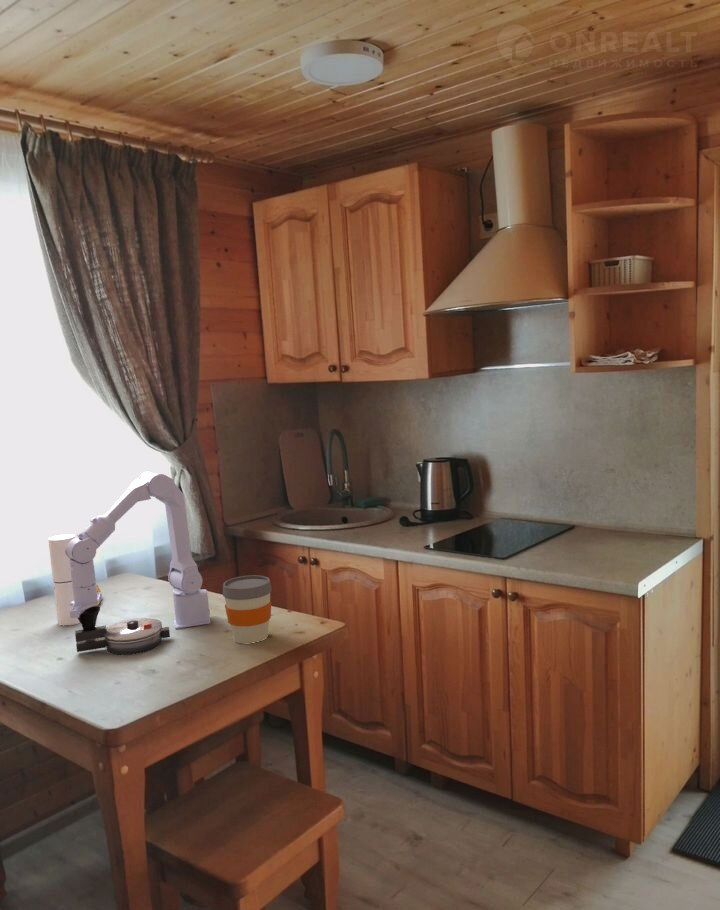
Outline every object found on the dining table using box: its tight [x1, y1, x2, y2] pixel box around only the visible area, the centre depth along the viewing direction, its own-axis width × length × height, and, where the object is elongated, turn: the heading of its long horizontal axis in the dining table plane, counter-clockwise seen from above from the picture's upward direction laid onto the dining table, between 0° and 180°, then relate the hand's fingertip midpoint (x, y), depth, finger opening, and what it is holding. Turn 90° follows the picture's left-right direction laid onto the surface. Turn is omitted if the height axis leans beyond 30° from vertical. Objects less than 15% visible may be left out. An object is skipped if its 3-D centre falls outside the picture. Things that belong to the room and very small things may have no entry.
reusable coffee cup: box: [222, 574, 273, 644], centre depth 197 cm, size 13×12×15 cm
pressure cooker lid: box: [74, 617, 163, 642], centre depth 196 cm, size 21×15×2 cm
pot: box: [75, 626, 171, 656], centre depth 197 cm, size 23×14×4 cm, turn 108°
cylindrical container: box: [48, 533, 81, 627], centre depth 218 cm, size 7×7×25 cm
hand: (90, 635), depth 196 cm, fingers closed
